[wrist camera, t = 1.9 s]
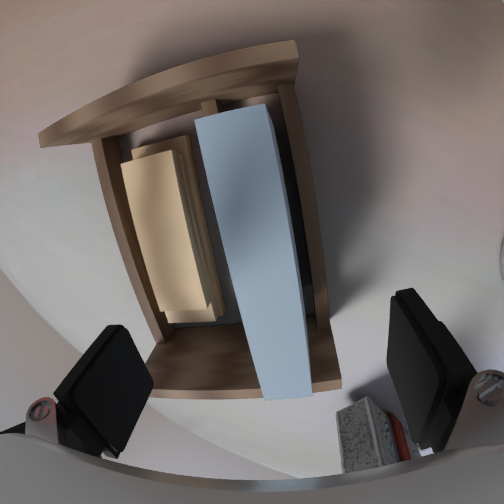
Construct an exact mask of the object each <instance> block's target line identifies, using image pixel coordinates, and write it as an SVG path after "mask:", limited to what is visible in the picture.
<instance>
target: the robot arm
mask: <svg viewBox="0 0 504 504" xmlns="http://www.w3.org/2000/svg"><path fill="white" fill-rule="evenodd" d="M501 273H502V277H503V279H504V240H503V244H502V251H501ZM387 367H388V370H389V372H390V375H391V378H392V380H393V383H394V386H395V388H396V391H397V394H398V397H399V400H400V403H401V406H402V408H403V411H404V414H405V417H406V421H407V424H408V427H409V430H410V433H411V436H412V439H413V442H414V443H418V442H419V445H420V448H421V450H423V449H427V448H429V447H432V450H433V452H434V454H430V455H426V456H423V457H419V458H415V459H411V460H407V461H403V462H399V463H395V464H391V465H387V466H382V467H378V468H373V469H368V470H362V471H357V472H351V473H344V474H338V475H330V476H323V477H313V478H302V479H287V480H227V479H212V478H201V477H192V476H184V475H176V474H169V473H164V472H158V471H153V470H147V469H142V468H138V467H133V466H129V465H125V464H121V463H117V462H113V461H109V460H106V459H102V457H101V454H102V452H103V453H104V454H105V455H106V456H108V457H112V458H115V459H118V457H119V454H120V452H122V451H123V450H124V449H125V447H126V444H127V442H128V440H129V438H130V436H131V434H132V431H133V429H134V427H135V425H136V423H137V421H138V419H139V417H140V414H141V412H142V410H143V408H144V406H145V404H146V402H147V400H148V398H149V396H150V394H151V391H152V389H153V387H154V381H153V378H152V377H151V375H150V373H149V371H148V369H147V367H146V365H145V363H144V361H143V360H142V358H141V356H140V354H139V352H138V350H137V348H136V346H135V344H134V341H133V339H132V337H131V335H130V333H129V331H128V330H127V329H126V328H125V327H124V326H123V325H108V326H107V327H106V328H105V329H104V330H103V331H102V333H101V334H100V335H99V336H98V337H97V339H96V340H95V341H94V342H93V343H92V345H91V346H90V347H89V348H88V350H87V351H86V352H85V353H84V354H83V356H82V357H81V358H80V359H79V361H78V362H77V363H76V364H75V366H74V367H73V368H72V370H71V371H70V372H69V373H68V375H67V376H66V377H65V379H64V380H63V381H62V383H61V384H60V385H59V386H58V388H57V389H56V390H55V392H54V393H53V394H54V395H55V397H56V398H57V399H58V401H59V402H58V403H57V404H56V403H55V401H54V400H53V399H51V398H49V397H44V398H40V399H39V400H37V401H35V402H34V403H33V404H32V405H31V406H30V407H29V409H28V411H27V413H26V422H24V423H21V424H19V425H16V426H14V427H12V428H9V429H7V430H4V431H2V432H0V504H504V373H503V372H501V371H498V370H490V369H489V370H484V371H481V372H480V373H477V371H476V370H475V368H474V367H473V365H472V364H471V362H470V361H469V359H468V358H467V356H466V355H465V353H464V352H463V350H462V349H461V347H460V346H459V344H458V343H457V341H456V340H455V339H454V337H453V336H452V334H451V333H450V332H449V330H448V329H447V327H446V326H445V325H444V324H443V323H442V322H441V321H438V320H437V319H436V317H435V316H434V314H433V313H432V312H431V310H430V309H429V308H428V306H427V305H426V304H425V302H424V301H423V300H422V298H421V297H420V296H419V295H418V293H417V292H416V291H415V289H413V288H409V289H404V290H399V291H396V294H395V296H392V297H391V301H390V322H389V336H388V348H387Z"/></svg>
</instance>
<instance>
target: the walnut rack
mask: <svg viewBox="0 0 504 504" xmlns="http://www.w3.org/2000/svg"><path fill="white" fill-rule="evenodd" d="M298 63H299V54H298V50H297V46H296V43H295V40H288V41H281V42H274V43H268V44H263V45H257V46H252V47H247V48H242V49H238V50H233V51H229V52H225V53H221V54H217V55H213V56H210V57H206V58H202V59H199V60H196V61H192V62H189V63H186V64H183V65H180V66H177V67H174V68H171V69H168V70H165V71H162V72H159V73H157V74H154V75H151V76H149V77H146V78H144V79H141V80H139V81H136V82H134V83H132V84H129V85H127V86H125V87H122V88H120V89H118V90H116V91H114V92H111V93H109V94H107V95H105V96H103V97H101V98H99V99H97V100H95V101H93V102H91V103H89V104H87V105H85V106H83V107H82V108H80V109H78V110H76V111H74V112H73V113H71V114H69V115H67V116H66V117H64V118H62V119H60V120H59V121H57V122H55V123H54V124H52V125H51V126H49V127H47V128H46V129H44V130H43V131H41V132H40V133H38V137H39V143H40V148H44V147H52V146H61V145H70V144H80V143H92V148H93V153H94V158H95V162H96V167H97V171H98V176H99V180H100V184H101V188H102V192H103V195H104V199H105V203H106V207H107V210H108V214H109V217H110V221H111V224H112V227H113V231H114V234H115V237H116V240H117V243H118V246H119V249H120V252H121V255H122V258H123V261H124V264H125V267H126V270H127V273H128V275H129V278H130V281H131V284H132V286H133V289H134V291H135V294H136V297H137V299H138V302H139V304H140V307H141V309H142V312H143V314H144V316H145V319H146V321H147V324H148V326H149V328H150V331H151V333H152V335H153V337H154V340H155V342H156V346H155V348H154V349H153V351H152V353H151V355H150V356H149V358H148V360H147V362H146V363H145V365H146V367H147V369H148V371H149V373H150V375H151V377H152V378H153V381H154V387H153V389H152V391H151V394H150V396H149V397H155V398H171V399H248V398H263V394H262V391H261V387H260V383H259V380H258V376H257V373H256V369H255V366H254V362H253V358H252V355H251V351H250V347H249V344H248V340H247V336H246V333H245V329H244V325H243V323H235V324H225V325H214V326H202V327H188V328H174V326H173V324H172V323H168V320H167V317H166V314H165V311H162V312H160V309H159V306H158V303H157V300H156V297H155V294H154V291H153V288H152V285H151V282H150V278H149V275H148V272H147V269H146V265H145V262H144V259H143V255H142V252H141V248H140V244H139V241H138V237H137V233H136V230H135V226H134V222H133V218H132V214H131V210H130V206H129V201H128V197H127V192H126V188H125V183H124V179H123V174H122V169H121V164H122V163H123V162H122V158H121V153H120V148H119V144H118V139H117V138H118V137H120V136H123V135H125V134H128V133H131V132H133V131H136V130H139V129H141V128H144V127H147V126H150V125H153V124H156V123H159V122H162V121H165V120H168V119H171V118H174V117H177V116H181V115H184V114H187V113H191V112H194V111H198V110H201V109H202V111H203V116H204V117H206V116H210V115H214V114H218V113H222V112H224V108H223V104H225V103H229V102H233V101H238V100H242V99H247V98H252V97H257V96H262V95H267V94H273V93H278V94H279V98H280V102H281V107H282V112H283V116H284V121H285V126H286V131H287V136H288V141H289V146H290V151H291V156H292V161H293V167H294V172H295V177H296V183H297V189H298V195H299V200H300V206H301V213H302V219H303V225H304V232H305V238H306V245H307V252H308V259H309V267H310V274H311V282H312V290H313V298H314V306H315V314H308V315H305V316H306V326H307V336H308V347H309V358H310V369H311V382H312V393H315V392H323V391H330V390H336V389H342V378H341V373H340V368H339V363H338V358H337V353H336V348H335V344H334V339H333V334H332V330H331V325H330V320H329V308H328V297H327V286H326V277H325V267H324V259H323V250H322V242H321V235H320V227H319V220H318V213H317V206H316V200H315V193H314V187H313V181H312V175H311V169H310V163H309V158H308V152H307V147H306V142H305V137H304V132H303V127H302V122H301V117H300V112H299V107H298V103H297V98H296V94H295V90H294V82H295V78H296V73H297V68H298Z"/></svg>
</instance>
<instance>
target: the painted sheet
mask: <svg viewBox="0 0 504 504" xmlns="http://www.w3.org/2000/svg"><path fill="white" fill-rule="evenodd" d="M194 121H195V125H196V130H197V135H198V139H199V144H200V148H201V153H202V157H203V162H204V166H205V171H206V175H207V179H208V184H209V188H210V193H211V197H212V201H213V205H214V210H215V214H216V218H217V222H218V226H219V231H220V235H221V239H222V243H223V247H224V251H225V255H226V259H227V263H228V267H229V271H230V275H231V279H232V283H233V287H234V291H235V295H236V298H237V302H238V306H239V310H240V314H241V318H242V321H243V325H244V329H245V333H246V336H247V340H248V344H249V347H250V351H251V355H252V358H253V362H254V366H255V369H256V373H257V376H258V380H259V383H260V387H261V391H262V394H263V398H264V401H265V400H279V399H290V398H299V397H308V396H313V395H312V382H311V369H310V358H309V347H308V336H307V326H306V316H305V307H304V298H303V290H302V283H301V276H300V269H299V262H298V256H297V249H296V243H295V237H294V231H293V225H292V219H291V213H290V207H289V202H288V196H287V191H286V185H285V180H284V174H283V169H282V164H281V159H280V154H279V149H278V144H277V139H276V134H275V129H274V125H273V123H272V120H271V117H270V115H269V112H268V110H267V107H266V105H265V103H264V104H259V105H254V106H249V107H244V108H240V109H235V110H231V111H226V112H222V113H218V114H214V115H210V116H206V117H203V118H199V119H195V120H194Z"/></svg>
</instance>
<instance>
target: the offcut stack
mask: <svg viewBox="0 0 504 504" xmlns="http://www.w3.org/2000/svg"><path fill="white" fill-rule="evenodd" d="M131 152H132V157H133V160H132V161H129V162H125V163H122V164H121V169H122V174H123V179H124V183H125V188H126V192H127V197H128V201H129V206H130V210H131V214H132V218H133V222H134V226H135V230H136V233H137V237H138V241H139V244H140V248H141V252H142V255H143V259H144V262H145V265H146V269H147V272H148V275H149V278H150V282H151V285H152V288H153V291H154V294H155V297H156V300H157V303H158V306H159V309H160V312H162V311H165V314H166V317H167V320H168V323H188V322H211V321H216V320H217V317H218V316H224V313H225V310H226V308H225V304H224V300H223V295H222V291H221V287H220V282H219V278H218V274H217V269H216V265H215V260H214V256H213V251H212V246H211V242H210V237H209V232H208V227H207V223H206V218H205V213H204V208H203V203H202V198H201V193H200V188H199V183H198V177H197V172H196V167H195V161H194V156H193V150H192V145H191V139H190V135H184V136H180V137H176V138H172V139H168V140H164V141H160V142H157V143H153V144H150V145H146V146H143V147H139V148H136V149H133V150H131Z"/></svg>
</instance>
